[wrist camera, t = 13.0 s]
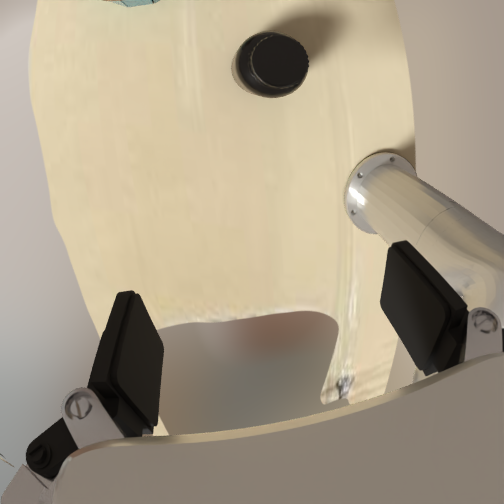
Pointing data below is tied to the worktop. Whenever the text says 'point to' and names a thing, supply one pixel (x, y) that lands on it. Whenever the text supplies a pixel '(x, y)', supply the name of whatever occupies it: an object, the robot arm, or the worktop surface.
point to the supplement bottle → (270, 64)
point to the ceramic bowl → (134, 2)
